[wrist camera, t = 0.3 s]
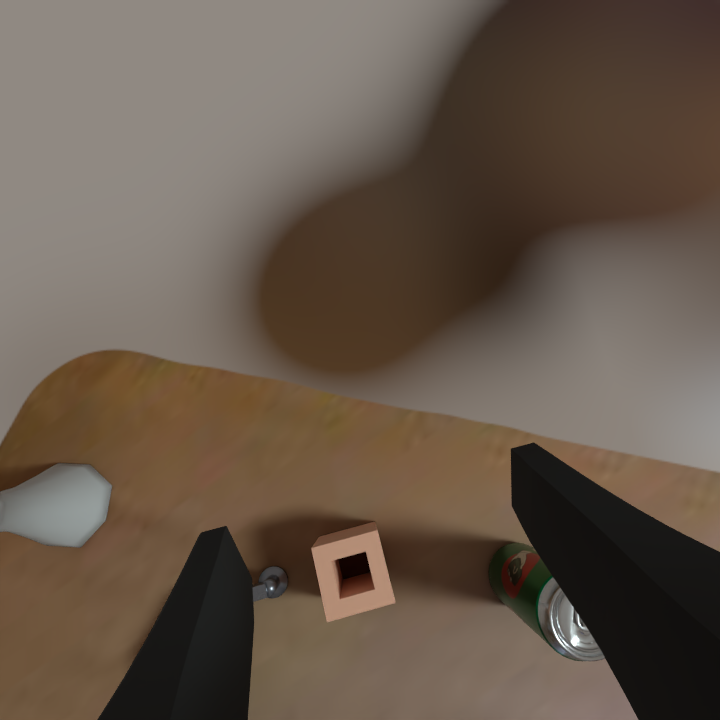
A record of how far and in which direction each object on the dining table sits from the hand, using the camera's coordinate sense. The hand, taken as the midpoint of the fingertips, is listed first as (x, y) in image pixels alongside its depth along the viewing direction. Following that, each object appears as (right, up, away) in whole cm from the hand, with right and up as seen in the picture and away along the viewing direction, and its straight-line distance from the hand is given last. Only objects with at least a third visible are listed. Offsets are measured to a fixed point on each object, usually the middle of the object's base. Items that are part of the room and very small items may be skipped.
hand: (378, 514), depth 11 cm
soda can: (+13, -14, +27) cm, 33 cm away
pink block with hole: (-1, -13, +27) cm, 30 cm away
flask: (-26, -9, +28) cm, 39 cm away
